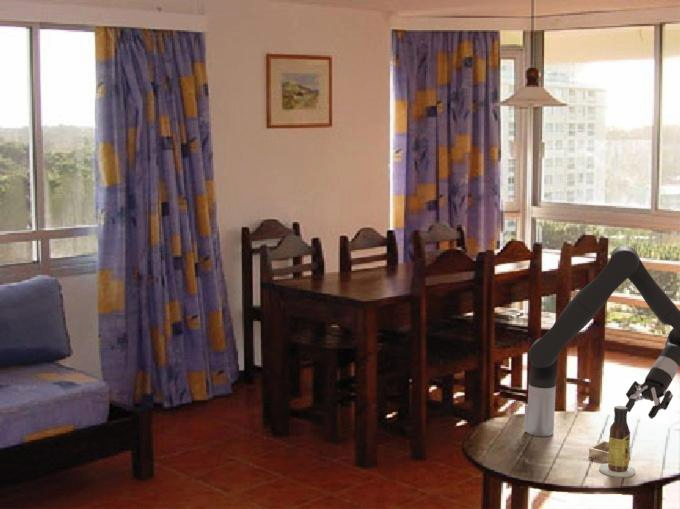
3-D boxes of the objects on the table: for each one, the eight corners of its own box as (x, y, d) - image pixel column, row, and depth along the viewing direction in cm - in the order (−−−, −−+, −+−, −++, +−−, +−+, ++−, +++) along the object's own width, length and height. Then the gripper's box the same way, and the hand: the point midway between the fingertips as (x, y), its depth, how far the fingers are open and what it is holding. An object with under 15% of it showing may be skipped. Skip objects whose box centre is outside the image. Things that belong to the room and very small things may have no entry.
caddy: (588, 457, 343) (589, 448, 343) (603, 449, 351) (603, 440, 351) (615, 463, 337) (616, 454, 337) (629, 455, 345) (630, 446, 345)
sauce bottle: (628, 473, 327) (632, 411, 324) (608, 471, 328) (611, 409, 325) (627, 466, 334) (631, 405, 331) (607, 464, 335) (610, 404, 332)
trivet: (593, 471, 330) (593, 469, 330) (608, 462, 339) (608, 460, 339) (625, 480, 323) (626, 478, 323) (641, 470, 332) (641, 468, 332)
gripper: (639, 362, 347) (615, 401, 341) (677, 371, 336) (653, 412, 330) (647, 375, 351) (624, 414, 345) (685, 385, 340) (662, 426, 335)
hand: (638, 413), depth 338 cm, fingers open, 8 cm apart
